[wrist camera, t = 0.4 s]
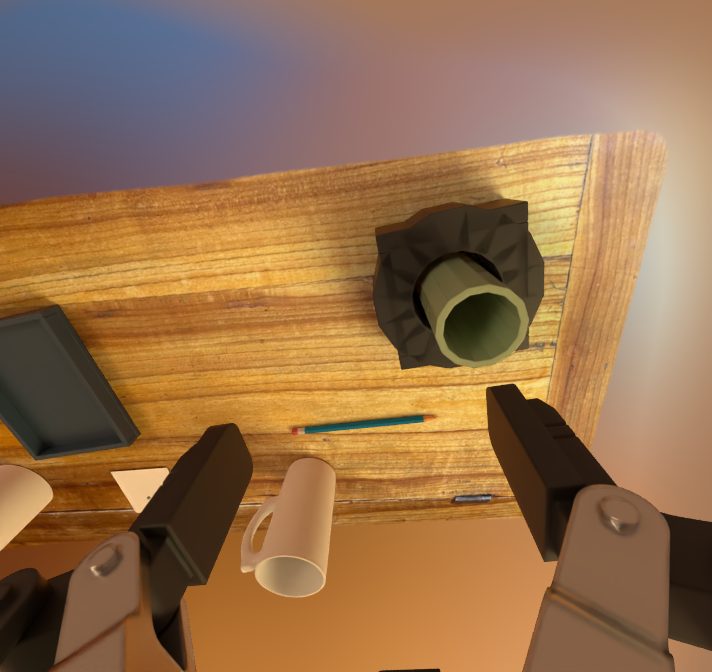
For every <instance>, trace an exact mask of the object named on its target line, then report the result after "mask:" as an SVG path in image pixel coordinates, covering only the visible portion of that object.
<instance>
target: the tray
mask: <svg viewBox="0 0 712 672" xmlns="http://www.w3.org/2000/svg"><path fill="white" fill-rule="evenodd" d="M0 419H1V421H2V422H3V423H4V424H5V425H6V426H7V428H8V429H9V430H10V431H11V432H12V434H13V435H14V436H15V437H16V438H17V439H18V441H19V442H20V443H21V444H22V445H23V447H24V448H25V449H26V450H27V451H28V452H29V454H30V455H31V456H32V457H33V458H34V459H35V460H42V459H49V458H55V457H62V456H68V455H75V454H81V453H88V452H95V451H101V450H108V449H114V448H121V447H127V446H130V445H131V444H132V443H133V442H134V441H135V440H136V439H137V437H138V436H139V435H140V432H139V430H138V429H137V427H136V426H135V424H134V423H133V421H132V419H131V418H130V416H129V415H128V413H127V412H126V410H125V409H124V407H123V405H122V404H121V402H120V401H119V399H118V398H117V396H116V394H115V393H114V391H113V390H112V388H111V387H110V385H109V383H108V382H107V380H106V379H105V377H104V376H103V374H102V373H101V371H100V369H99V368H98V366H97V365H96V363H95V362H94V360H93V358H92V357H91V355H90V354H89V352H88V351H87V349H86V347H85V346H84V344H83V343H82V341H81V340H80V338H79V337H78V335H77V333H76V332H75V330H74V329H73V327H72V326H71V324H70V322H69V321H68V319H67V318H66V316H65V315H64V313H63V311H62V310H61V308H60V307H59V305H56V306H52V307H48V308H43V309H39V310H34V311H30V312H26V313H21V314H17V315H12V316H8V317H4V318H0Z"/></svg>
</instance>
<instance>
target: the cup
mask: <svg viewBox="0 0 712 672" xmlns="http://www.w3.org/2000/svg"><path fill="white" fill-rule="evenodd" d="M416 291H417V293H418V296H419V298H420V301H421V303H422V306H423V308H424V311H425V313H426V316H427V318H428V321H429V323H430V326H431V328H432V331H433V333H434V336H435V338H436V341H437V343H438V345H439V348H440V350H441V352H442V354H444V355H445V356H446V357H447V358H449V359H450V360H451V361H452V362H454V363H455V364H458V365H462V366H467V367H471V368H478V367H484V366H491V365H495V364H497V363H498V362H500V361H502V360H503V359H505V358H507V357H509V356H510V355H511V354H513V353H514V351H515V350H516V349H517V348H518V346H519V345H520V344H521V343H522V341H523V340H524V338H525V335H526V331H527V327H528V323H529V317H528V314H527V310H526V307H525V303H524V301H523V300H522V299H520V298H519V297H518V296H517V295H516V294H515V293H514V292H513V291H512V290H511V289H509V288H508V287H507V286H505V285H504V284H503V283H502V282H500V281H499V280H498V279H497V278H495V277H494V276H493V275H491V274H490V273H489V272H488V271H486V270H485V269H484V268H482V267H481V266H480V265H479V264H477V263H476V262H475V261H474V260H472V259H471V258H470V257H468V256H467V255H466V254H463V253H461V252H454V253H449V254H444V255H442V256H440V257H439V258H437V259H436V260H434V261H433V262H431V263H430V264H428V265H427V266H426V268H425V269H424V270H423V272H422V273H421V275H420V276H419V277H418V279H417V280H416Z"/></svg>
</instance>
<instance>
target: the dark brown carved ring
mask: <svg viewBox="0 0 712 672" xmlns="http://www.w3.org/2000/svg"><path fill="white" fill-rule="evenodd" d="M527 221H528V202H527V201H520V200H512V199H500V200H496V201H491V202H487V203H483V204H478V205H474V206H472V205H467V204H462V203H457V202H451V203H447V204H442V205H438V206H434V207H429V208H425V209H422V210H420V211H419V212H417V213H416V214H414V215H413V216H412V217H410V218H409V219H407V220H406V221H404V222H400V223H396V224H391V225H387V226H383V227H378V228H375V236H376V242H377V247H378V252H379V254H378V258H377V263H376V268H375V273H374V278H373V300H374V305H375V309H376V314H377V319H378V323H379V326H380V328H381V329H382V330H383V332H384V333H385V335H386V336H387V337H388V339H389V340H390V341H391V343H392V344H393V346H394V347H395V348H396V349H397V350H398V355H399V360H400V365H401V369H402V370H404V369H410V368H416V367H422V366H428V365H432V366H438V367H443V368H454V367H460V366H462V365H458V364H455V363H454V362H452V361H451V360H450V359H449V358H447V357H446V356H445V355H444V354H442V352H441V350H440V348H439V345H438V343H437V341H436V338H435V336H434V333H433V331H432V328H431V326H430V323H429V321H428V318H427V316H426V313H425V312H424V311H423V310H421V309H420V308H418V307H417V306H416V304H415V303H414V301H413V297H412V295H413V292H414V288H415V284H416V280H417V279H418V277H419V276H420V275H421V273H422V272H423V270H424V269H425V268H426V266H427V265H428V264H430V263H431V262H433V261H434V260H436V259H437V258H439V257H440V256H442V255H444V254H449V253H454V252H459V251H466V252H472V253H477V254H478V255H479V257H480V258H481V260H482V262H483V264H484V266H485V270H486V271H488V272H489V273H490V274H491V275H493V276H494V277H495V278H497V279H498V280H499V281H500V282H502V283H503V284H504V285H505V286H507V287H508V288H509V289H511V290H512V291H513V292H514V293H515V294H516V295H517V296H518V297H519V298H520V299H522V300H523V301H524V303H525V307H526V310H527V314H528V317H529V323H528V327H527V331H526V335H525V338H524V340H523V341H522V343H521V344H520V345H519V346H518V348H517V349H516V350H515V351H518V350H524V349H528V348H529V335H528V334H529V326H530V325H531V323H532V321H533V319H534V316H535V314H536V312H537V310H538V307H539V305H540V303H541V300H542V298H543V296H544V261H543V259H542V257H541V254H540V252H539V250H538V248H537V246H536V244H535V242H534V240H533V238H532V235H531V233H530V232H529V231H528V222H527Z"/></svg>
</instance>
